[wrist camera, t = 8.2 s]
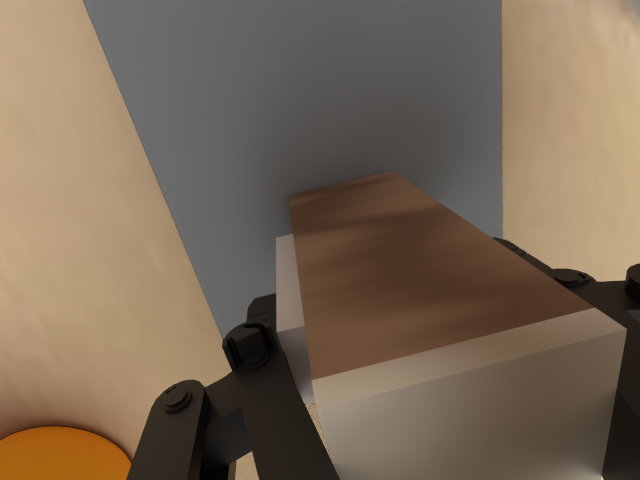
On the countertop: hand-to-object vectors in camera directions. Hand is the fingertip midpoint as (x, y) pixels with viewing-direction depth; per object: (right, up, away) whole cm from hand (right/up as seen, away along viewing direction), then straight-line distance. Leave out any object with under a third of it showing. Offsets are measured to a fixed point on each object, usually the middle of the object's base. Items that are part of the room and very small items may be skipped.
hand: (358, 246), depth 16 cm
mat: (-1, +6, +1) cm, 6 cm away
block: (0, +1, +2) cm, 2 cm away
